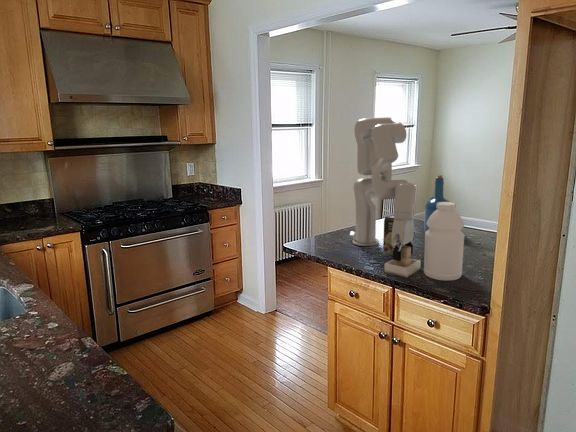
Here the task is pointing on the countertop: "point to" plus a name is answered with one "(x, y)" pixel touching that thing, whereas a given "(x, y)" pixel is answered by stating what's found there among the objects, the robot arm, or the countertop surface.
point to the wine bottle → (434, 200)
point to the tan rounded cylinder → (405, 256)
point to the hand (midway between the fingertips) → (402, 257)
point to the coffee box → (388, 236)
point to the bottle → (444, 243)
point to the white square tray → (402, 268)
